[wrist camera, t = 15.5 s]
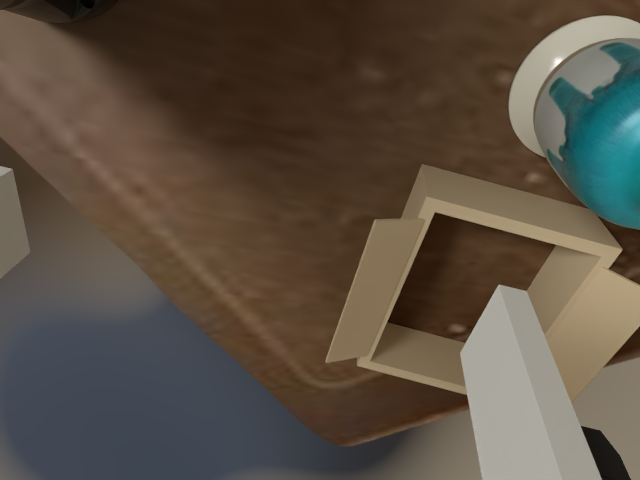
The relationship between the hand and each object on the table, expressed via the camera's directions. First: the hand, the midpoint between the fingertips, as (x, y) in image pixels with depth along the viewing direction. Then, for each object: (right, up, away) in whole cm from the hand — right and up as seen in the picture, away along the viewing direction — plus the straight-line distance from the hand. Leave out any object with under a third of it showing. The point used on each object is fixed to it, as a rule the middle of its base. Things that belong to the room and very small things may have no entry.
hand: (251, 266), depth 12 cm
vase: (+24, +13, +26) cm, 38 cm away
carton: (+18, -3, +38) cm, 42 cm away
